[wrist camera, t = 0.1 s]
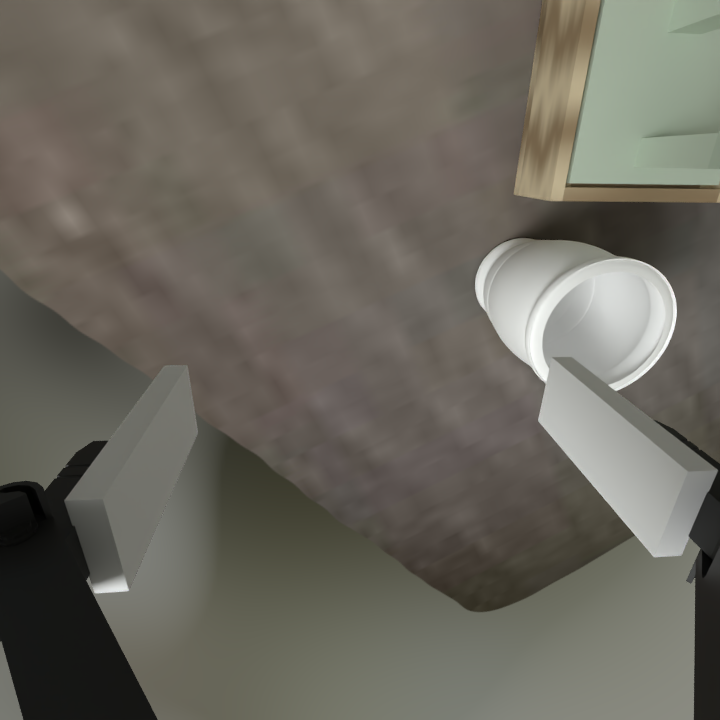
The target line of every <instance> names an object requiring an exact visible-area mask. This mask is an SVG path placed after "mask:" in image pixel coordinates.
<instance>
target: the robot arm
mask: <svg viewBox="0 0 720 720" xmlns="http://www.w3.org/2000/svg"><path fill="white" fill-rule="evenodd" d="M538 421H539V422H540V423H541V425H542V426H543V427H544V428H545V429H546V431H547V432H548V433H549V434H550V435H551V436H552V438H553V439H554V440H555V441H556V442H557V444H558V445H559V446H560V447H561V448H562V449H563V451H564V452H565V453H566V454H567V455H568V456H569V458H570V459H571V460H572V461H573V462H574V464H575V465H576V466H577V467H578V468H579V469H580V471H581V472H582V473H583V474H584V475H585V476H586V478H587V479H588V480H589V481H590V482H591V484H592V485H593V486H594V487H595V488H596V489H597V491H598V492H599V493H600V494H601V495H602V497H603V498H604V499H605V500H606V501H607V502H608V504H609V505H610V506H611V507H612V508H613V509H614V511H615V512H616V513H617V514H618V515H619V517H620V518H621V519H622V520H623V521H624V522H625V524H626V525H627V526H628V527H629V528H630V529H631V531H632V532H633V533H634V534H635V535H636V537H638V539H639V540H640V541H641V542H642V543H643V545H644V546H645V547H646V548H647V549H648V551H649V552H650V553H651V554H652V555H653V557H664V556H680V555H682V553H683V551H684V548H685V546H686V544H687V541H688V539H689V537H690V538H691V539H692V540H693V541H694V542H695V543H696V544H697V545H698V546H699V547H700V548H701V549H700V551H699V554H698V556H697V558H696V560H695V562H694V565H693V567H692V569H691V571H690V574H689V576H688V578H687V580H686V581H687V582H689V583H692V581H693V579H694V578H696V579H695V669H694V670H695V671H694V673H695V674H694V676H695V677H694V720H720V464H719V463H718V462H717V461H715V460H714V459H713V458H711V457H710V456H709V455H707V454H706V453H705V452H703V451H702V450H699V449H698V447H697V446H695V445H694V444H693V443H691V442H690V441H687V439H686V438H685V437H683V436H682V435H681V434H679V433H678V432H677V431H676V430H674V429H673V428H670V427H668V426H666V425H664V424H662V423H660V422H658V421H656V420H653V419H651V418H650V417H649V416H647V415H646V414H645V413H643V412H642V411H641V410H640V409H638V408H637V407H636V406H634V405H633V404H632V403H631V402H629V401H628V400H627V399H625V398H624V397H623V396H621V395H620V394H619V393H618V392H616V391H615V390H614V389H612V388H611V387H610V386H609V385H607V384H606V383H605V382H603V381H602V380H601V379H599V378H598V377H597V376H596V375H594V374H593V373H592V372H590V371H589V370H588V369H587V368H585V367H584V366H583V365H581V364H580V363H579V362H577V361H576V360H575V359H574V358H572V357H552V358H551V363H550V368H549V372H548V377H547V382H546V387H545V391H544V396H543V401H542V405H541V410H540V415H539V419H538ZM197 434H198V429H197V423H196V417H195V410H194V404H193V398H192V391H191V385H190V379H189V373H188V366H187V365H172V366H164V367H163V368H162V370H161V371H160V372H159V374H158V375H157V376H156V378H155V379H154V380H153V382H152V383H151V384H150V386H149V387H148V388H147V390H146V391H145V392H144V394H143V395H142V397H141V398H140V399H139V401H138V402H137V403H136V405H135V406H134V407H133V409H132V410H131V411H130V413H129V414H128V415H127V417H126V418H125V419H124V421H123V422H122V423H121V425H120V426H119V427H118V429H117V430H116V432H115V433H114V434H113V436H112V437H111V438H110V440H109V441H93V442H91V443H90V444H88V445H87V446H85V447H84V448H82V449H81V450H79V451H78V452H76V454H75V455H74V456H73V457H72V458H71V460H70V461H69V462H68V463H67V465H66V468H63V469H62V471H61V472H60V473H59V474H58V475H57V479H54V480H53V481H52V483H51V484H50V485H49V486H48V488H47V489H46V490H45V491H44V489H43V487H42V486H41V485H39V484H38V483H36V482H30V481H22V482H13V483H9V484H6V485H3V486H0V641H2V644H3V648H4V651H5V655H6V659H7V662H8V666H9V669H10V673H11V677H12V680H13V684H14V687H15V691H16V695H17V698H18V702H19V705H20V709H21V712H22V716H23V720H157V718H156V716H155V714H154V712H153V710H152V708H151V706H150V704H149V702H148V700H147V698H146V696H145V694H144V692H143V691H142V688H141V687H140V685H139V683H138V681H137V679H136V677H135V675H134V673H133V671H132V669H131V667H130V665H129V663H128V661H127V659H126V657H125V655H124V653H123V652H122V650H121V648H120V646H119V644H118V642H117V640H116V638H115V636H114V634H113V632H112V630H111V628H110V626H109V624H108V623H107V620H106V619H105V617H104V615H103V613H102V611H101V609H100V607H99V605H98V603H97V601H96V599H95V597H94V595H93V593H92V591H91V589H90V587H89V585H88V583H87V582H86V580H87V578H88V577H90V580H91V583H92V586H93V589H94V593H106V592H121V591H129V590H130V587H131V585H132V583H133V580H134V578H135V576H136V574H137V571H138V569H139V567H140V565H141V562H142V560H143V557H144V555H145V553H146V551H147V548H148V546H149V544H150V542H151V539H152V537H153V535H154V532H155V530H156V528H157V526H158V523H159V521H160V519H161V516H162V514H163V512H164V509H165V507H166V504H167V502H168V500H169V498H170V496H171V493H172V491H173V489H174V486H175V484H176V482H177V480H178V477H179V475H180V473H181V471H182V468H183V466H184V464H185V461H186V459H187V457H188V454H189V452H190V450H191V448H192V445H193V443H194V441H195V438H196V436H197Z"/></svg>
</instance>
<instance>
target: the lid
mask: <svg viewBox="0 0 720 720" xmlns="http://www.w3.org/2000/svg"><path fill="white" fill-rule="evenodd" d="M719 182H720V0H601V2H600V7H599V12H598V17H597V23H596V28H595V33H594V38H593V44H592V49H591V54H590V59H589V64H588V70H587V75H586V80H585V85H584V91H583V96H582V101H581V106H580V111H579V117H578V122H577V127H576V132H575V138H574V143H573V148H572V153H571V158H570V164H569V169H568V174H567V179H566V183H587V184H665V185H719Z"/></svg>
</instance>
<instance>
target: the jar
mask: <svg viewBox="0 0 720 720" xmlns="http://www.w3.org/2000/svg"><path fill="white" fill-rule="evenodd" d="M475 291H476V296H477V299H478V301H479V303H480V305H481V306H482V308H483V309H484V310H485V311H486V312H487V314H488V317H489V319H490V321H491V322H492V324H493V326H494V328H495V330H496V332H497V333H498V335H499V337H500V338H501V340H502V341H503V342H504V344H505V345H506V346H507V347H508V348H509V349H510V350H511V351H512V352H513V353H514V354H515V355H516V356H517V357H519V358H520V359H521V360H522V361H524V362H525V363H527V364H528V365H530V366H531V367H532V369H533V370H534V372H535V373H536V374H537V376H538V377H539V378H540V379H541V380H542V381H543V382H545V383H546V382H547V377H548V372H549V368H550V363H551V358H552V357H572V358H574V359H575V360H576V361H577V362H579V363H580V364H581V365H583V366H584V367H585V368H587V369H588V370H589V371H590V372H592V373H593V374H594V375H596V376H597V377H598V378H599V379H601V380H602V381H603V382H605V383H606V384H607V385H609V386H610V387H611V388H612V389H614V390H615V391H617V390H619V389H622V388H624V387H626V386H627V385H629V384H631V383H633V382H634V381H636V380H637V379H638V378H640V377H641V376H642V375H644V374H645V373H646V372H647V371H648V370H649V369H650V368H651V367H652V366H653V365H654V364H655V363H656V362H657V360H658V359H659V358H660V356H661V355H662V354H663V352H664V350H665V349H666V347H667V345H668V343H669V341H670V339H671V336H672V334H673V331H674V327H675V323H676V314H677V307H676V299H675V295H674V292H673V290H672V287H671V285H670V284H669V282H668V280H667V279H666V278H665V277H664V275H663V274H662V273H661V272H659V271H658V270H657V269H655V268H654V267H652V266H651V265H649V264H647V263H644V262H641V261H639V260H636V259H632V258H627V257H620V256H615V255H613V254H611V253H609V252H607V251H605V250H603V249H601V248H598V247H595V246H593V245H589V244H586V243H581V242H576V241H567V240H534V239H529V238H517V239H512V240H509V241H506V242H504V243H502V244H500V245H499V246H497V247H496V248H494V249H493V250H492V251H491V252H490V253H489V254H488V255H487V256H486V257H485V258H484V260H483V261H482V263H481V265H480V267H479V269H478V272H477V275H476V280H475Z"/></svg>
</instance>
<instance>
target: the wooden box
mask: <svg viewBox="0 0 720 720" xmlns="http://www.w3.org/2000/svg"><path fill="white" fill-rule="evenodd" d="M600 2H601V0H542V7H541V14H540V21H539V27H538V34H537V41H536V48H535V54H534V61H533V68H532V75H531V81H530V88H529V95H528V102H527V108H526V115H525V122H524V129H523V135H522V142H521V149H520V156H519V162H518V169H517V176H516V183H515V189H514V195H518V196H524V197H530V198H536V199H541V200H547V201H602V202H711V203H720V182H719V185H665V184H587V183H566V179H567V174H568V169H569V164H570V158H571V153H572V148H573V143H574V138H575V132H576V127H577V122H578V117H579V111H580V106H581V101H582V96H583V91H584V85H585V80H586V75H587V70H588V64H589V59H590V54H591V49H592V44H593V38H594V33H595V28H596V23H597V17H598V12H599V7H600Z"/></svg>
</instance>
